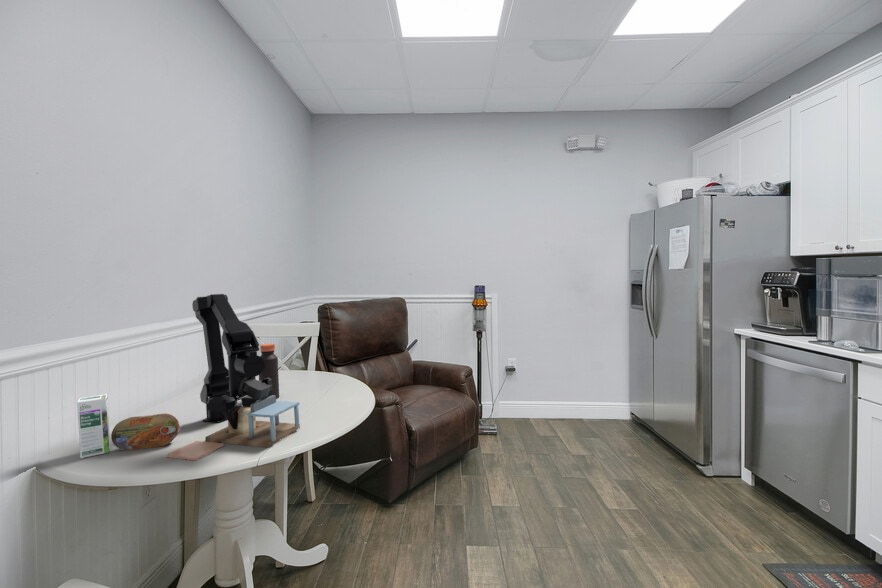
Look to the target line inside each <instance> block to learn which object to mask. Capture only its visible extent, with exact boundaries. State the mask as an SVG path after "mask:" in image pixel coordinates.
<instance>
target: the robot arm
mask: <svg viewBox="0 0 882 588" xmlns="http://www.w3.org/2000/svg"><path fill="white" fill-rule="evenodd" d="M191 306H192V311H193V312H194V314H195V318H196V319H197V321H199V323H201V325H202V328H203V336H204V344H205V346H204V347H205V352H206V360H207V368H208V370H207V371H206V374H205V376H204V379H203V385H202V388H201V390H200V393H199V399H200V402H201V403H203V404H204V405H205V409H206V413H205V414H206V417H205V418H203V419H202V422H207V423H209V422H210V423H221V422H223V421H226V420H227V423H228V422H229V423H230V425H231V426H232V428H233V429H237V426H238V410H239V409H240V408H241V406H246V407H250V405H251V404H253V403H255V402H258V401H260V400H261V399H262V398H264V397H267V396H268V393H271V390H272V389H273V388H272V379H270V378H265V379H263V381H262V380H259V379H258V380H257V379H256V377H259V375H260V374H261V373H262V372H263V370H264V368H265V362H264V360H263V359H262V358H261V357H260V356H261V355H260V356H259V355H258V352H259V351H260V348H259V346H260V343H259V342H258V339H257V336H256V335H255V332H254V331H253V330H252V328H251V327H250V326H249V325H248V323H246V322H244V321H242V320H240V319H239V317H238V316H237V314H236V312H235V311H234V309H233V308H232V306H231V304H230V302H229V297H228V295H227V294H225V293H214V294H210V295H208V294H207V295H206V296H197V297H196V299H194V300H193V301H192V305H191ZM221 328H222V334H221ZM223 347H224V348H225V350H226V355H227V364H228V365H227V367H226V364H225V356H224V349H223ZM238 401H241V405H238Z"/></svg>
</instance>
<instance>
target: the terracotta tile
mask: <svg viewBox="0 0 882 588" xmlns="http://www.w3.org/2000/svg"><path fill="white" fill-rule="evenodd" d="M224 446H225V443H218V442H208V441H201V440H194V442H191V443H189V444H186V445H184V446H182V447H180V448H178V449H176V450H174V451H172V452H169V453H167V454H166V455H165V457H166V458H168V457H170V459H177V458H178V460H185V459H187V460H186V461H194V460H195V461H197V460H199V459H201V458H203V457H205V456H207V455H209V454H211V453H213V452H214V450H215V451H217V450H219V449H221V448H222V447H224ZM220 447H221V448H220ZM218 448H219V449H218ZM216 449H217V450H216ZM212 451H213V452H212ZM210 452H211V453H210Z"/></svg>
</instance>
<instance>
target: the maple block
mask: <svg viewBox="0 0 882 588" xmlns="http://www.w3.org/2000/svg"><path fill="white" fill-rule="evenodd" d="M240 406H241V408H240V409H239V410H238V426H237V429H233V428H232V426H231V425H230V423H229V422H228V421H227V424H228V425H227V427H228V431H229V433H235V434H245V433H247V432H249V421H248V416H247V413H249V412H251V409H250V407H246V406H243V405H240ZM256 417H257V416H253V422H254V429H255V428H256V421H257V419H256Z"/></svg>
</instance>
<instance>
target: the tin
mask: <svg viewBox="0 0 882 588" xmlns="http://www.w3.org/2000/svg"><path fill="white" fill-rule="evenodd" d="M179 431H180V423H179V420H178V418H177V417H176V416H174V415H173V414H170V413H155V414H147V415H137V416H131V417H128V418H125V419H123V420H120V421H119V422H118V423H117V424H115V426H114V427H113V429H112V431H111V436H110V437H111V438H110V439H111V442H112V444H113V445H114V446H115V447H116V448H118V449H119V450H121V451H125V452H126V451H129V452H130V451H136V450H144V449H151V448H159V447H165V446H166V445H169V444H170V443H172V441H174V439H175V438H177V437H178V435H179Z"/></svg>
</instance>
